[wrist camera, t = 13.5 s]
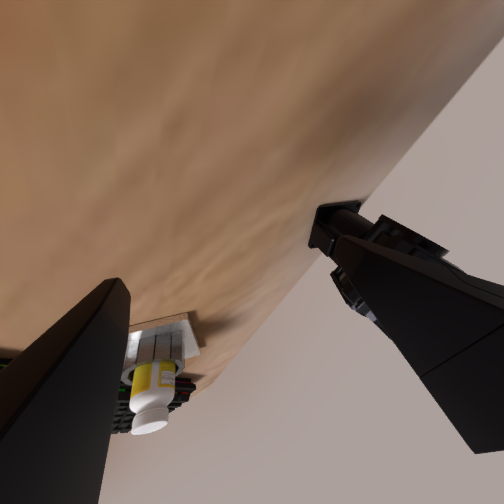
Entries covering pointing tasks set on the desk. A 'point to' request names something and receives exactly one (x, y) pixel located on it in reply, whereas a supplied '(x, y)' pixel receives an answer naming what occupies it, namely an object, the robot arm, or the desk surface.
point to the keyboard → (123, 411)
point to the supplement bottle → (152, 396)
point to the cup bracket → (160, 344)
